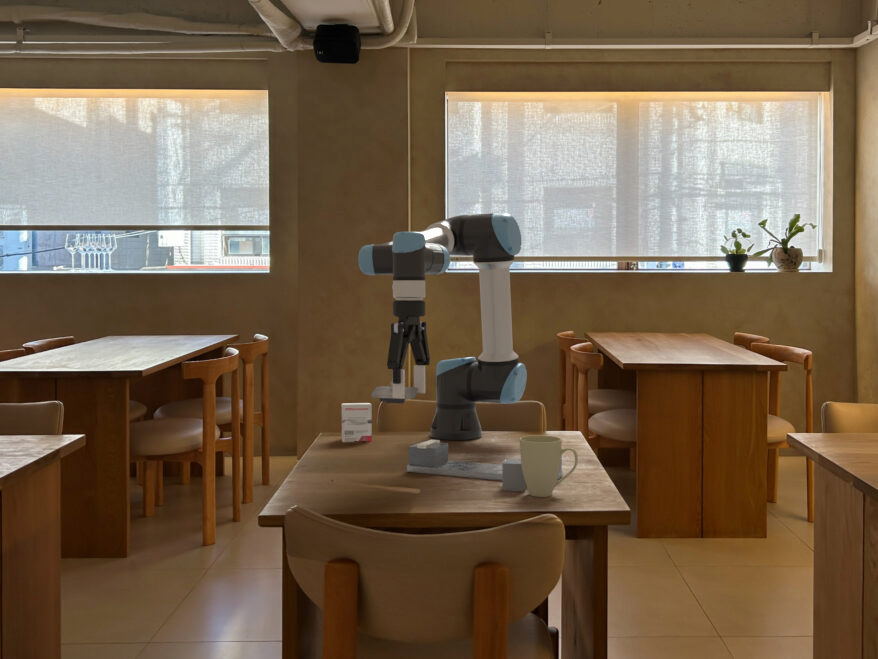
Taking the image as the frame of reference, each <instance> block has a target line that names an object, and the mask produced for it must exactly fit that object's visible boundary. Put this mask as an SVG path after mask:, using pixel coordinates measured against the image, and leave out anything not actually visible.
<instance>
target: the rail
mask: <svg viewBox="0 0 878 659" xmlns="http://www.w3.org/2000/svg"><path fill="white" fill-rule="evenodd" d="M562 455H563V454H562ZM562 455H561V459H560V467H559V472H558V476H557V480H560V479H561V478H563V477H564V470H563V469H562V462H563V461H562V460H563V458H562ZM406 472H407V473H409V472H410V473H417V474H429V475H438V476H450V477H460V478H470V479H471V478H472V479H483V480H493V481H502V464H494V463H483V462H470V461H460V460H450V459H449V443H448V442H441V439H428V440H426V441H425V440H424V441H420V442H416V443H414V444H411V445H409V446H408V464H407V465H406Z"/></svg>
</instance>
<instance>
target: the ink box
mask: <svg viewBox="0 0 878 659" xmlns="http://www.w3.org/2000/svg"><path fill="white" fill-rule="evenodd" d="M372 405H373V404H372V403H370V402H352V403H351V402H349V403H348V402H347V403H346V402H345V403H341V442H342V443H355V442H354V441H366V442H372V441H373V440H372V439H373V437H372V435H373V434H372V433H373V431H372V430H373V429H372V428H373V425H372V424H373V422H372V421H373V417H372V416H373V415H372V413H373V411H372V410H373V409H372V407H373V406H372Z"/></svg>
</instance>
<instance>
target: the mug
mask: <svg viewBox="0 0 878 659" xmlns="http://www.w3.org/2000/svg"><path fill="white" fill-rule="evenodd" d="M562 440H563V439H562V438H561V437H558V436H554V435H553V436H552V435H540V434H539V435H538V434H537V435H525V436H522V437H521V436H520V437H519V451H520V452H519V453H520V460H521V467H522V472H523V476H524V479H525V482H526V490H527V492H528V494H529V496H531V497H537V498H545V497H547V498H548V497H551V496H552V495H553V492H554V489H555V486H556V485H557V484H559V483H561V482H562V481H564V480H565V479H567V478H568V477H569V476H571V474H572V473H573V472H574V471H575V470H576V469H577V466H578V462H579V461H578V460H579V455H578V452H577V450H576V449H575V448H574V447H569V446H567V447H562V442H563V441H562ZM567 451H572V453H573V455H574V465H573V467H572V468H571V469H570V470H569V471H568V473H567V474H565V475H563V477H561V478H560V479H559V480H557V476H558V472H559V467H560V459H561V455H563V454H565V452H567Z"/></svg>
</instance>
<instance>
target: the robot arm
mask: <svg viewBox="0 0 878 659" xmlns="http://www.w3.org/2000/svg"><path fill="white" fill-rule="evenodd" d="M519 226H520V225H519V223H518V221H517V220H516V219H515V217H514V216H513V215H512V214H510V213H507V212H506V213H505V212H504V213H502V212H494V213H493V212H492V213H479V214H478V213H477V214H460V215H455V216H452V217H449V218H445V219H443V220H441V221H437V222H434V223H432V224H430V225H428V226H427V227H426V228H425V229H424V230H421V231H398V232H397V231H396V232H395V233H394V234H393V236H392V240H391V241H389V242H388V241H387V242H385V243H382V244H375V243H372V244H368V245H367V244H366V245H364V246H362V247H361V248H360V249H359V253H358V255H357V257H358V258H357V261H358V267H359V269H360V271H361V272H362V273H363V275H367V276H376V277H377V276H392V285H391V288H392V298H393V299H395V300H393V301H392V315H393V317H397V318H398V319H397V323H396V322H392V323H391V324H390V339H389V340H390V341H389V348H388V354H387V362H386V366H387V369H388V370H391V372H392V374H391V375H392V376H391V377H392V379H391V381H392V389H393V398H401V399H404V398H405V387H406V384H405V382H406V381H405V380H406V379H405V378H406V377H405V376H406V374H405V373H406V372H405V369H403V368H404V364H405V359H406V355H407V352H408V348H409V345H410V347H411V351H412V356H413V358H414V362H415V365H413V387H416V388H418V392H417V394H426V366H430V363H431V362H430V361H431V357H430V349H429V342H428V335H427V322H426V321H421V320H420V319H421V318H420V317H425V316H426V302H425V301H426V300H424V299H425V298H426V293H427V292H426V275H430V276H436V275H441V274H444V273H445V272H446V271H447V270H448V269H449V266H450V264H451V256H457V257H458V256H461V257H469V256H470V257H472V261H473V262H472V263H473V264H474V265H475V266H476V267H477V268H478V274H479V276H478V277H479V292H480V294H479V297H480V315H481V316H480V318H481V335H482V336H481V339H482V352H481V353H480V355H479V356H478V357H477V359H476V357H475V356H468V357H458V358H451V359H443V360H439V361H438V363H437V364H436V371H435V372H436V374H435V381H436V382H435V387H436V388H435V389H436V390H435V394H436V396H435V398H436V400H435V402H436V404H435V405H436V408H435V409H436V410H435V413H434V417H433V419H432V422H431V426H430V434H429V435H430V437H431V438H434V439H437V440H448V441H449V440H451V441H454V440H455V441H460V440H461V441H462V440H475V439H479V438H481V437H482V426H481V423H480V420H479V417H478V416H479V415H478V413H477V411H476V408H477V407H476V405H477V404H476V402H477V403H490V404H501V405H504V404H516V403H518V402H519V401H520V400H521V399H522V397H523V394H524V392H525V389H526V385H527V380H528V379H527V377H528V372H527V369H526V365H525V364H524V363H523V362H519V361H520V360H519V355H518V353H517V352H515V351H514V348H513V346H514V343H513V341H514V340H513V324H512V323H513V322H512V321H513V320H512V317H513V316H512V301H511V300H512V297H511V294H512V293H511V275H510V273H511V272H510V267H511V265H512V264H514V262H515V256H517V255H519V253H520V252H521V249H522V247H521V246H522V233H521V230H520V227H519Z"/></svg>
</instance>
